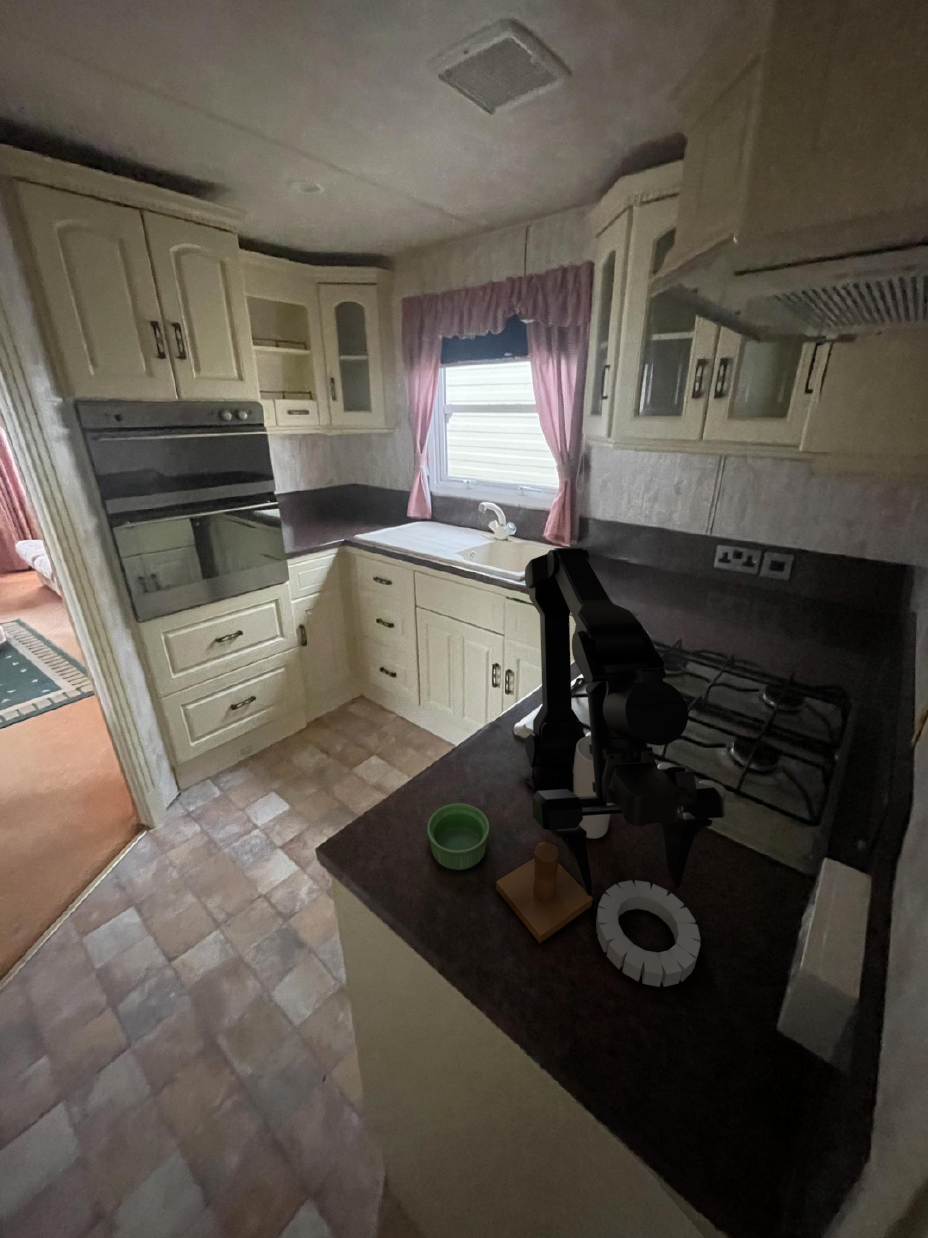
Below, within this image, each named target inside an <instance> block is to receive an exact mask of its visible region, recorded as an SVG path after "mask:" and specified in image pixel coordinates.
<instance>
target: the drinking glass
mask: <svg viewBox="0 0 928 1238" xmlns="http://www.w3.org/2000/svg"><path fill="white" fill-rule="evenodd" d="M585 736H586V735H585ZM589 744H592V743H591V734H589V735H587V736H586V737H583V738H581V739H580V740H579V741H578V743H577V745H576V751H575V757H574V764H573V770H572V773H573V792H572V793H574V794H575V795H576V796H578V797H587V796H596V793H595V792H593V786H592V782H595V778H594V766H593V755H592V754H590V751H589ZM607 805H613V804H612V803H607ZM611 815H612V814H603V815H589V816H583V820H582V821H581V823H580V826H581V827H582V828H583V829H584V830H585V831H587V835H586V839H593V840H595V839H600V838H602V837H604V836H605V835H606V834H607V832H608V830H609V826H610V825H609V824H610V819H611Z"/></svg>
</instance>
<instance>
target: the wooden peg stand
mask: <svg viewBox="0 0 928 1238" xmlns="http://www.w3.org/2000/svg"><path fill="white" fill-rule="evenodd" d="M559 857H560V852H559V849H558V847H557V846H556V845H555V844H553V843H551V842H546V841H545V842H540V843H538V845H536V846H535V848H534V858H532V859H531V860H529V861H528V862H525V863H524V864H523V865H521V866H519V867H518V868H516V869H514V870H512V871H511V872H509V873H508V874H506V875H505V876H503V877H501V878H500V879H498V880H497V881H496V882H495V890H496V891H497V893H499V895H500V896H501V898H502V899H504V901H505V902H506V903H507V905H508V906H509V907H510V908H511V909H512V911H513V912H514V913H515V915H516V916H517V917H518V919H520V921H521V922H522V923H523V924H524V926H525V928H527V929H528V931H529V932H530V933H531V934H532V936H533V937H534V938H535V939H536V941H537V942H538V943H539V944H542V943H543V942H544V941H545V940H547V939H548V938H549V937H551V936H552V935H554V934H555V933H556V932H558V931H559V930H561V929H562V928H563V927H565V926H566V925H568V924H569V923H571V922H572V921H573V920H574V919H576V918H577V917H579V916H580V915H581V914H582V913H584V912H585V911H586V910H588V909H589V908H590V907H592V906H593V901H594V900H593V896H592V895H591V896H588V895H587V893H586V892H585V890H584V887H583V886H581V884H579V883H578V882H577V880H576V879H575V878H574V877H573V876H571V873H569V872H567V870H566V869H565V868H564V867H563V866H562V865H561V864H560V863H559Z"/></svg>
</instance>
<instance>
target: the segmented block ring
mask: <svg viewBox="0 0 928 1238" xmlns="http://www.w3.org/2000/svg"><path fill="white" fill-rule="evenodd" d="M668 893H669V890H667V889H665V888H663V887H661V886H660V885H657V884H655V883H653V884H652V886H651V883H650V882H649V881H642V880H637V879H635V880H634V882H633V880H632V879H631V880H625V881H621V882H620V881H619V882H618V883H617V884H616V883H615V884H613V885H612V886H610V887H609V888H608V889H606V890H605V893H603V894H602V896H601V898H600V900H599V903H598V906H597V912H596V918H595V924H596V927H595V928H596V931H595V932H596V934H597V940H598V942H599V945H600V947H601V949H602V951H603V953H606V958H608V959H609V961H610V962H611V963H612V964H613V965H614V966H615V967H616V969H618V970H620V969H621V968H622V974H624V975H626V976H627V977H629V978H631V979H633V980H634V981H636V982H640V979H641V982H642V984H643V985H648V986H653V987H657V988H658V987H659V988H660V987H661V984H662V986H663V987H665V988H666V987H669V986H674V985H678V984H679V983H680V982H684V981H685V979H687V978H688V977H689V976H690V975H691V974H692V973H693V970H695V967H696V964H697V960H698V956H699V952H700V948H701V939H702V938H701V935H700V930H699V926H698V924H696V922H697V921H696V919H695V918H694V916H693V915H692V912H691V911H690V909H689V907H685V903H684V902H682V901H681V900H680V898H678V897H677V896H676V895H675V894H674V893H670V894H669V895H668ZM631 910H641V911H646V912H647V911H648V912H649V913H651V914H653V915H656V916H657V917H659V918H660V919H661V920H662V921H663V922H664V923H665V924H666V925H667V926H668V928H669V929H670V931H671V933H672V934H673V937H674V945H673V946H672V947H671V948H670V949H668V950H664V951H659V952H656V951H651V950H645V949H644V948H642V947H639V946H638V945H636V944H634V943H633V942H632V941H631V939H629V938H628V937H627V935H625V933H624V931H623V930H622V928H621V925H620V923H619V918H620V916H622V915H623V914H625V912H628V911H631Z"/></svg>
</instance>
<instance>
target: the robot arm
mask: <svg viewBox="0 0 928 1238" xmlns="http://www.w3.org/2000/svg"><path fill="white" fill-rule="evenodd" d="M524 584H525V588H526V589H528V597H529V601H531V604H532V605H533V607H534V608H535V609H536V611H537V612H538V614H539V630H540V635H539V636H540V661H541V662H540V664H541V665H540V667H541V700H542V701H541V702H542V705H541V706H540V707H539V709H538V711H537V712H536V715H535V716H534V718H533V720H532V733H530V734H528V735H527V736H526V737H525V739H524V740H525V742H524V743H525V753H526V756H527V759H528V762H529V766H530V768H532V769H531V770H532V771H531V772H532V773H531V775H530V776H528V777H526V778H525V779H524V784H526V785H527V787H529V788H530V789H531V790H532V791H533V792H534V795H533V796H532V799H531V805H532V806H531V807H532V817H533V819H534V820H535V821H536V822H537V823H538V825H539V826H540V827H541V828H542V829H543V830H546V831H551V832H552V833H553V835H554V836H555V837H557V838H561V840H562V841H563V843H564V845H565V847H566V849H567V851H568V853H569V855H570V858H571V861H572V863H573V866H574V867H575V870H576V872H577V875H578V877H579V880H580V883H581V885H582V888H583V889H584V890H585V892H586V893H587V895H588V896H591V897H592V896H593V882H592V881H593V880H592V874H591V868H590V863H589V857H588V856H589V855H588V851H587V844H586V842H587V837H586V835H587V831H585V830H584V829H583V828H582V827H581V826H580V823H581V821H582V820H583V816H589V815H603V814H611V815H616V814H622V815H623V818H624V820H625V821H626V822H627V823H628V824H629V825H630V826H631V825H632V826H635V827H645V826H648V825H650V824H661V825H662V830H663V831H662V832H663V841H664V848H665V858H666V865H667V870H668V871H667V872H668V875H669V879H670V884H671V886H672V887H674V889H680V887H681V884H682V880H683V876H684V873H685V869H686V865H687V861H688V858H689V854H690V850H691V848H692V845H693V842H694V840H695V837H697V835H698V834H699V833H700V832H701V831H702V830H703V829H704V828H706V827H707V828H708V827H711V826H713V823H714V822H713V820H712V819H717V818H718V819H719V818H724V817H725V806H724V800H723V797H722V795H721V793H720V791H718V790H717V789H716V788H715V787H714V786H711V785H708V784H705V783H702V782H700V781H696V778H695V772H694V771H693V770H692V769H691V768H690V766H689V765H685V764H684V765H670V766H668V767H667V768H659V767H658V765H657V762H656V758H655V752H654V750H653V749H654V748H653V746H656V747H657V746H666V745H668V744H672V743H673V742H674V741H676V740H678V739H679V738H680V737H681V736H682V735H683V733H684V732H685V730H686V728H687V726H688V722H689V707H688V704H687V703H686V700H685V698H684V697H683V695H682V694H681V693H680V691H679V690H678V689H677V688H676V687H674V686H673V684H670V683H668V682H666V681H664V679H666V678H667V673H666V670H665V668H664V667H665V661H664V660H663V658H662V656H661V654H659V651H658V650H657V649H656V647H655V645H654V644H653V641H652V639H651V638H650V636H649V633H648V631H647V630H646V629H645V628H644V626H643V624H642V623H641V622H640V621H639V620H638V618H637V617H636V616H635V615H634V614H633V613H632V611H630V610H629V609H627V608H624V607H622V606H620V605H617V604H615V603H614V602H613V601H612V600H611V598H610V596H609V595H608V592H607V591H606V589H605V588H604V586H603V584H602V582H601V580H600V578H599V576H598V575H597V573H596V571H595V569H594V568H593V566H592V564H591V562H590V555H589V552H588V549H587V548H582V547H581V546H572V547H570V546H569V547H554V548H553V549H550V550H548V551H547V553H545V554H543V555H540V556H537V557H534V558H532V559H530V560H529V561H528V563H527V565H526V566H525V569H524ZM570 614H571V616H572V619H573V621H574V624H575V628H574V632H573V634H572V638H571V627H570V626H571V625H570ZM571 653H572V657H573V660H574V663H575V664H576V666H577V668H578V670H579V672H580V674H581V676H582V678H583V679H584V680H585V683H586V686H585V693H586V695H587V705H588V715H589V717H588V718H589V728H590V729H589V730H590V735H591V743H592V744H589V751H590V754H592V755H593V766H594V778H595V782H592V786H593V792H595V793H596V796H587V797H578V796H576V795H575V794H574V793H573V769H574V757H575V751H576V745H577V743H578V741H579V740H580V739H581V738H583V737H586V733H585V732H584V728H585V727H584V724H583V722H582V721H581V720H580V719H579V717H578V716H577V714H576V713H575V711H574V709H573V705H572V704H573V703H572V700H573V699H572V666H571V665H572V664H571ZM649 745H651V746H649ZM652 745H653V746H652ZM607 803H612V804H613V805H607Z"/></svg>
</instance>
